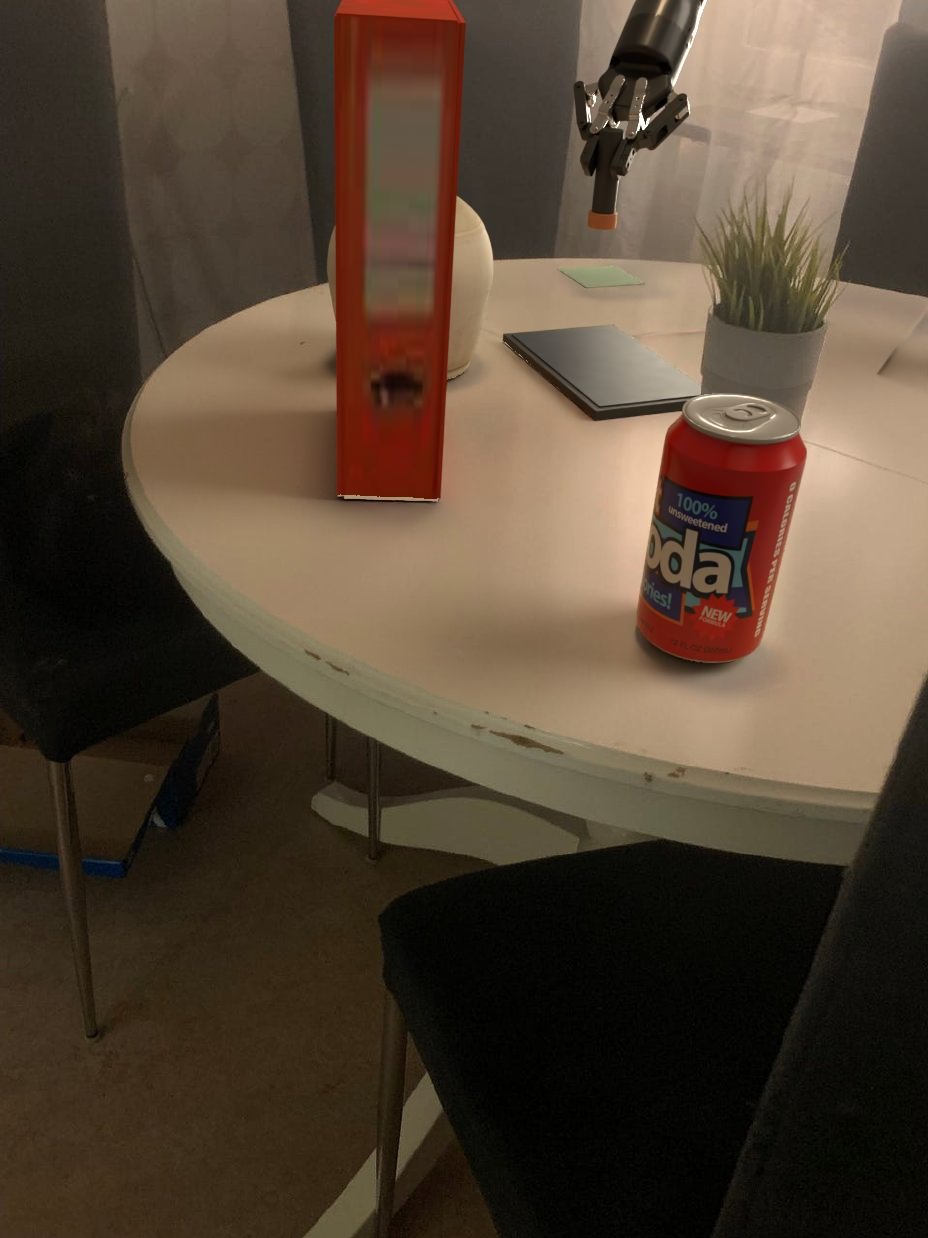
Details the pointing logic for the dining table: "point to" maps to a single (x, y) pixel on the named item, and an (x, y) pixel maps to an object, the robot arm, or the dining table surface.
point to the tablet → (605, 370)
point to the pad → (600, 276)
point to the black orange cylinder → (605, 182)
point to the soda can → (720, 526)
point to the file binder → (394, 238)
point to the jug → (456, 285)
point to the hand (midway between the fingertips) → (600, 172)
